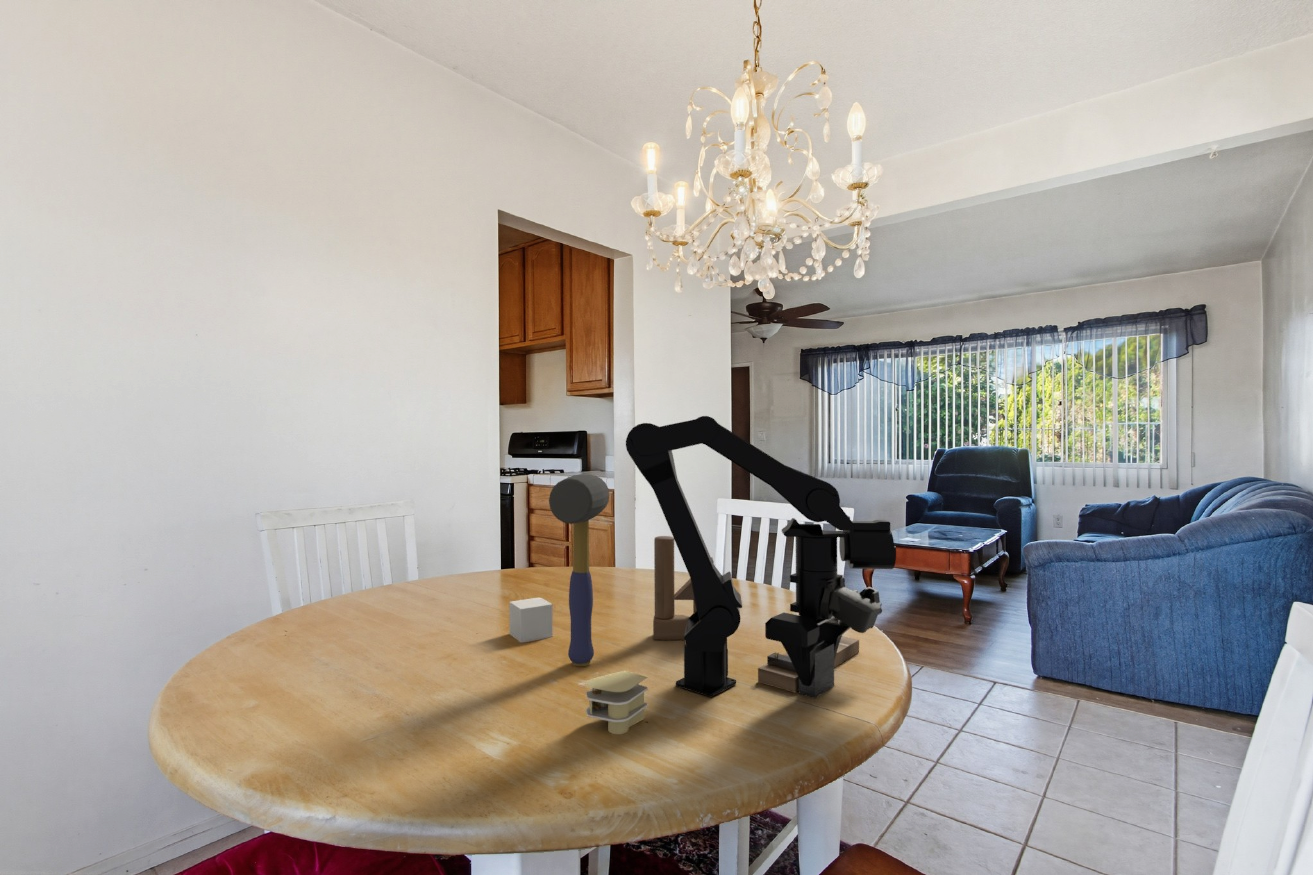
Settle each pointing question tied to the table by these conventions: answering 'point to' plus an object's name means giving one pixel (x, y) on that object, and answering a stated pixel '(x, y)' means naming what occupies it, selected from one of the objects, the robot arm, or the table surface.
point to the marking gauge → (821, 669)
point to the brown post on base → (668, 593)
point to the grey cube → (530, 619)
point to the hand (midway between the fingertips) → (816, 678)
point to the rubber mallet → (580, 553)
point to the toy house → (617, 700)
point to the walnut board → (790, 678)
